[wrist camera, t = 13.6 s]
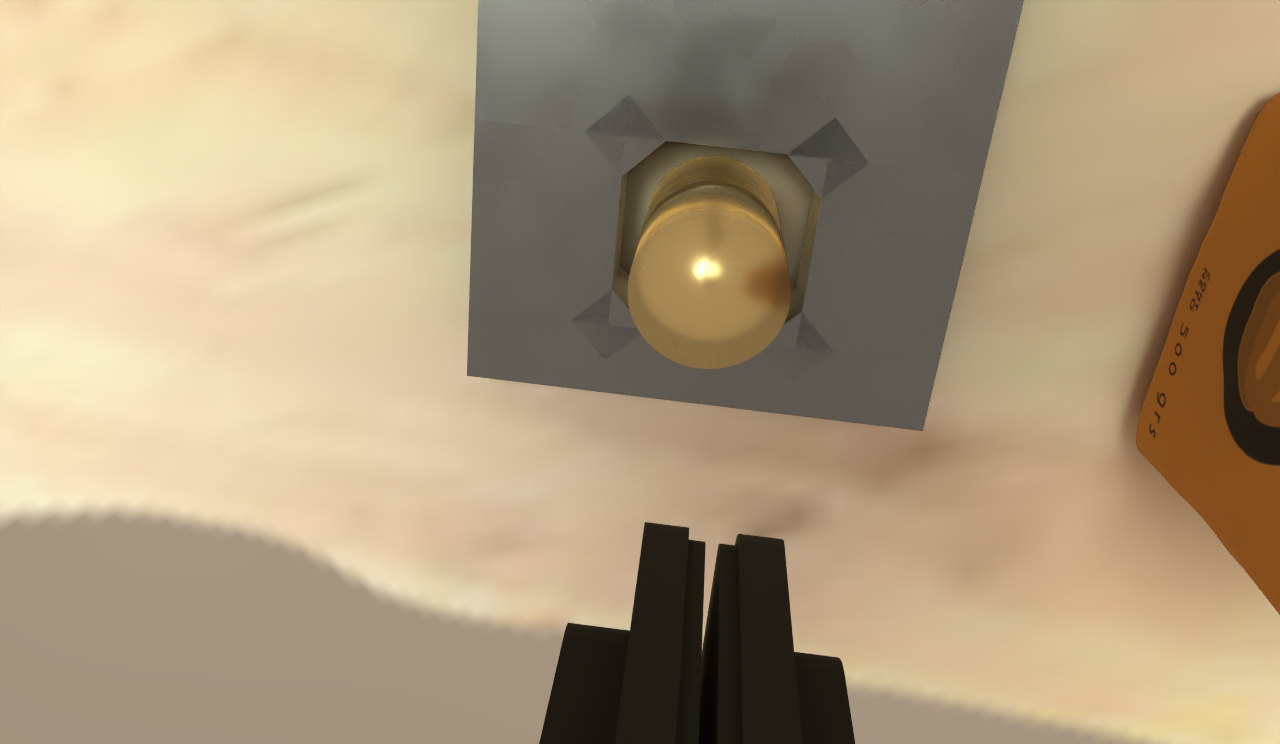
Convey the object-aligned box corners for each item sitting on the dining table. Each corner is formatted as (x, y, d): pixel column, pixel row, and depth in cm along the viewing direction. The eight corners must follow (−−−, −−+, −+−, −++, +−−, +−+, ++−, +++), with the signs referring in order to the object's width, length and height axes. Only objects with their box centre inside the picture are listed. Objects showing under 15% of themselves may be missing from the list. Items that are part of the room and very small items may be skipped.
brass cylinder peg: (654, 148, 30) (636, 204, 24) (787, 164, 30) (803, 224, 24) (641, 274, 32) (619, 358, 26) (766, 289, 32) (777, 378, 25)
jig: (512, -389, 25) (491, -421, 23) (1073, -335, 25) (1108, -362, 23) (484, 345, 33) (467, 375, 31) (909, 396, 33) (922, 431, 31)
